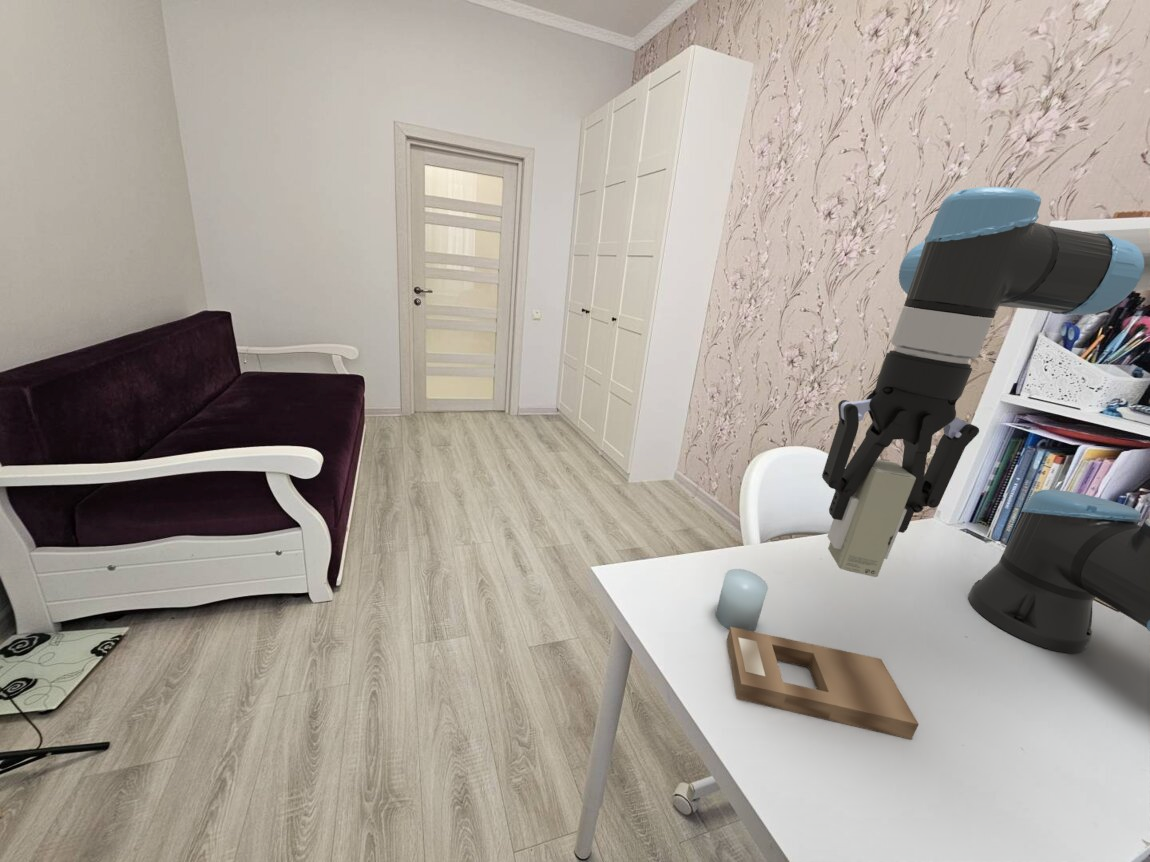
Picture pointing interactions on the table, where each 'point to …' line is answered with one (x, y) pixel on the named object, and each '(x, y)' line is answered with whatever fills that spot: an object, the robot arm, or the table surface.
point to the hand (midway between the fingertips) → (856, 547)
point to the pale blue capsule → (741, 600)
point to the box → (874, 518)
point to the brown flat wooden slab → (819, 683)
